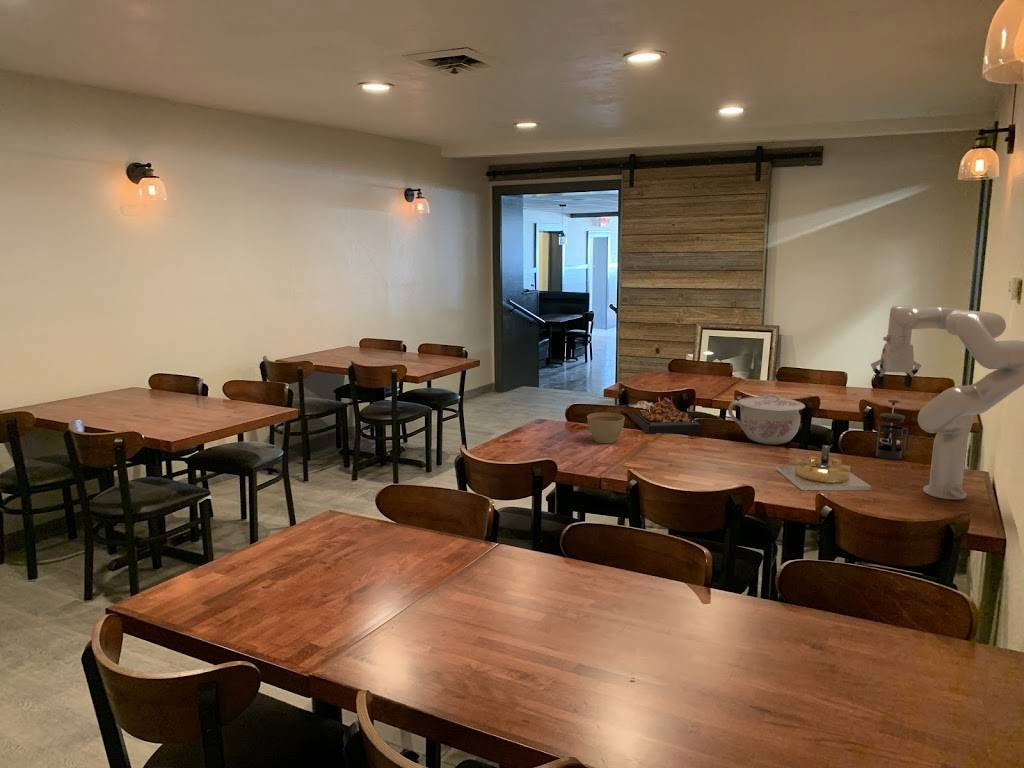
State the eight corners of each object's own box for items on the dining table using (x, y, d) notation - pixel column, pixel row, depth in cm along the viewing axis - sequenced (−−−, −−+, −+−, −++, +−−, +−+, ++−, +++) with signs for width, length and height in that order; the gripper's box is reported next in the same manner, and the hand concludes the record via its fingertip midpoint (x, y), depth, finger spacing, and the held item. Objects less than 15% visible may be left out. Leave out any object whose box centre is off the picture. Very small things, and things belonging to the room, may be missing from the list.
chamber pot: (816, 445, 305) (820, 397, 301) (765, 452, 295) (768, 402, 291) (770, 430, 331) (773, 386, 327) (721, 436, 321) (724, 390, 317)
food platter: (622, 413, 368) (623, 393, 366) (669, 412, 371) (670, 392, 369) (648, 435, 324) (649, 413, 322) (701, 434, 327) (702, 411, 325)
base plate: (870, 490, 248) (871, 485, 248) (801, 490, 248) (801, 485, 248) (839, 469, 272) (839, 464, 271) (776, 469, 271) (776, 465, 271)
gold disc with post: (858, 482, 251) (860, 457, 249) (807, 482, 251) (809, 457, 249) (835, 467, 268) (837, 443, 267) (787, 467, 268) (789, 444, 267)
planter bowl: (583, 444, 307) (583, 419, 305) (590, 435, 322) (591, 411, 320) (621, 447, 303) (621, 422, 301) (626, 437, 318) (627, 413, 316)
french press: (878, 459, 285) (883, 402, 281) (870, 452, 294) (875, 397, 290) (909, 460, 283) (915, 403, 279) (900, 453, 292) (906, 398, 288)
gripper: (878, 341, 255) (873, 388, 258) (928, 342, 254) (923, 389, 258) (869, 338, 262) (864, 384, 266) (918, 339, 262) (912, 385, 265)
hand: (893, 386), depth 262 cm, fingers open, 9 cm apart
